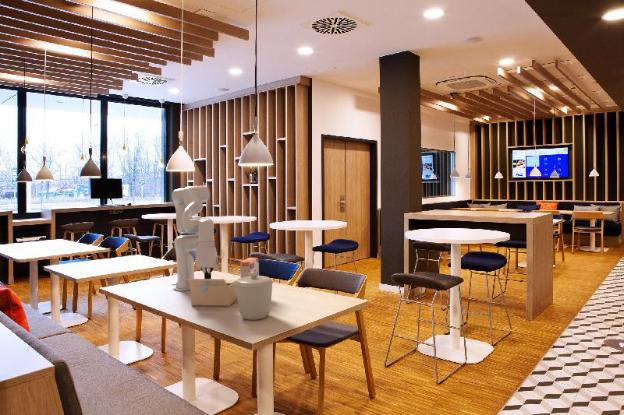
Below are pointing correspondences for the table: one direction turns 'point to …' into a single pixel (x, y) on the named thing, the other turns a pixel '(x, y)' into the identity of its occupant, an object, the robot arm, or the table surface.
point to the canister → (254, 296)
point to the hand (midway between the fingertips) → (207, 280)
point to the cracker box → (249, 266)
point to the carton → (214, 295)
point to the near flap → (207, 283)
